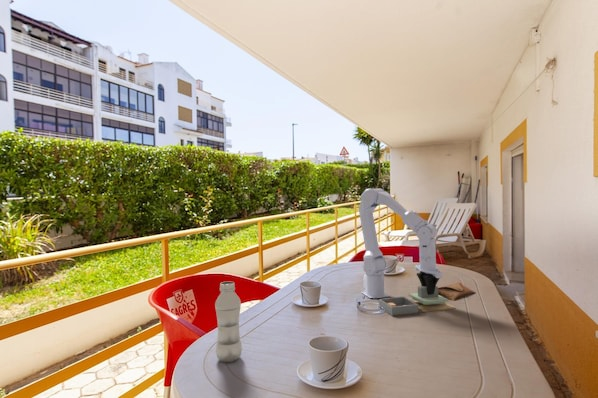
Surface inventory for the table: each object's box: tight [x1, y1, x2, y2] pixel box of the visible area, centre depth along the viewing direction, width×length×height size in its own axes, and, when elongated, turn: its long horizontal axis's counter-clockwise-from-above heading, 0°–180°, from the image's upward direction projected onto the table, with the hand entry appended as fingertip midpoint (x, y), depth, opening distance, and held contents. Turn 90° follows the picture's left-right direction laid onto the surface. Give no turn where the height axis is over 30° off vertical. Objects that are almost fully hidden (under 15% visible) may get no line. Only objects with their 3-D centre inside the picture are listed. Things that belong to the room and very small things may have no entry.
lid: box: [408, 285, 449, 305], centre depth 131 cm, size 10×10×5 cm
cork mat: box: [410, 299, 456, 313], centre depth 131 cm, size 13×13×1 cm
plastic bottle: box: [214, 281, 243, 363], centre depth 92 cm, size 6×7×20 cm
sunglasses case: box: [438, 281, 476, 302], centre depth 144 cm, size 18×7×7 cm
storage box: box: [378, 296, 419, 317], centre depth 126 cm, size 10×10×3 cm
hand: (428, 293), depth 131 cm, fingers closed on lid, 2 cm apart
